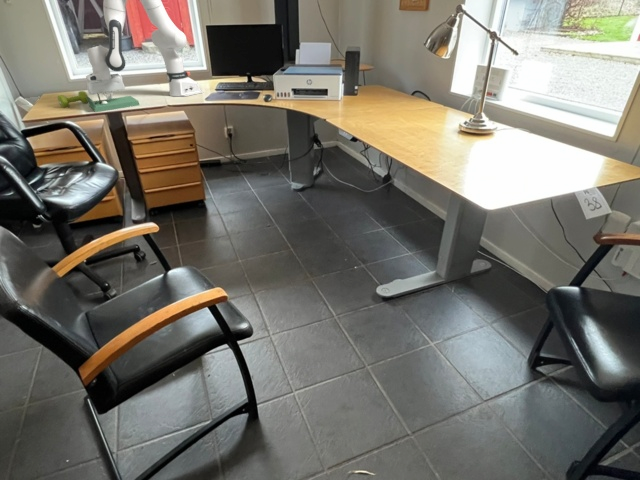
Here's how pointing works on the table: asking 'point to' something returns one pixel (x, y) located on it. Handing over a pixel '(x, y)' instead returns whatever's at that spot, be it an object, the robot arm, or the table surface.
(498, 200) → the table surface
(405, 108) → the table surface
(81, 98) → the dumbbell
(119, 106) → the putting mat
